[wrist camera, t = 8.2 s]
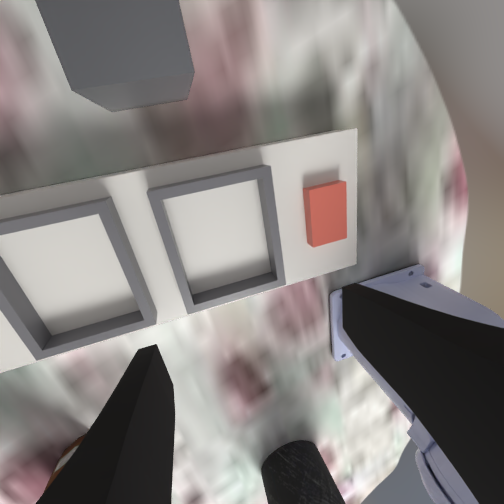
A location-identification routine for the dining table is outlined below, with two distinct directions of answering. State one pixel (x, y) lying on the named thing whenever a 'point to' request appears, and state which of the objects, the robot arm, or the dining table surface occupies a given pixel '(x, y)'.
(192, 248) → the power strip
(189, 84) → the block
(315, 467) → the travel mug
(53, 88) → the dining table surface
